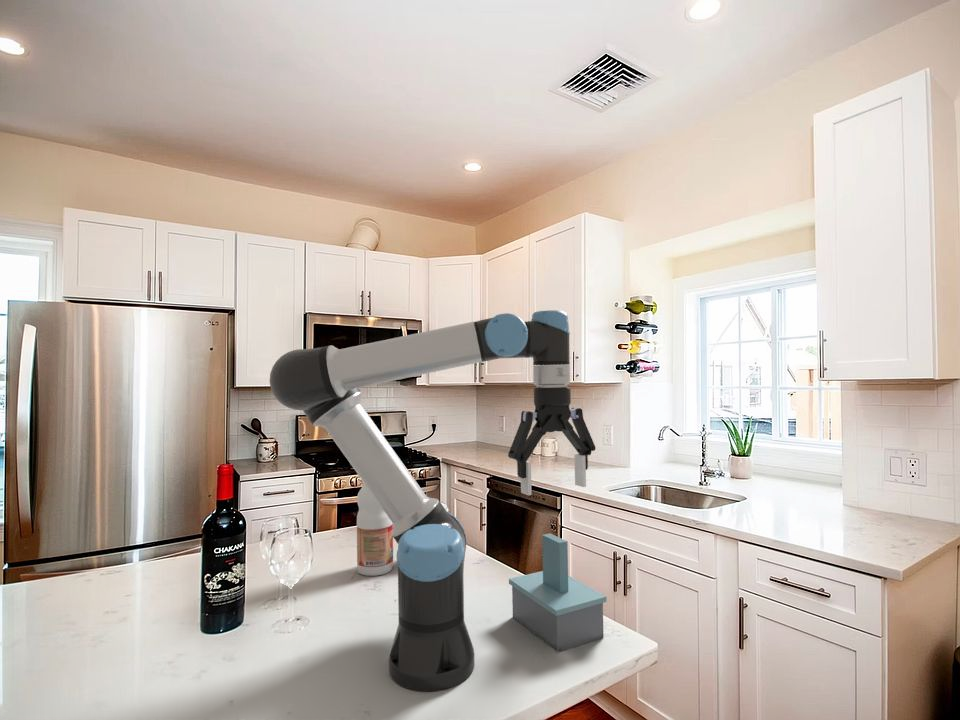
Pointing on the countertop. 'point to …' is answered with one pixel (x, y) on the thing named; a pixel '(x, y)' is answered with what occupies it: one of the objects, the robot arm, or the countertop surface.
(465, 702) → the countertop surface
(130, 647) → the countertop surface
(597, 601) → the lid
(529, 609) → the parts tub
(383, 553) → the fruit juice
